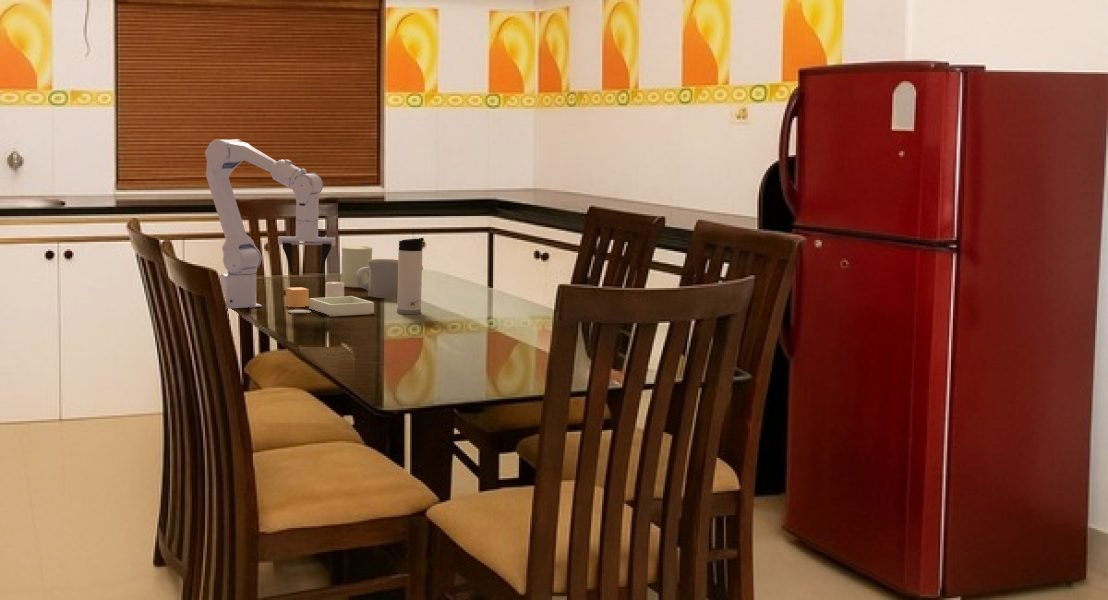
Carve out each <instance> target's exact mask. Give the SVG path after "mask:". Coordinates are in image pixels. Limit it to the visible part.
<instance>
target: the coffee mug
mask: <svg viewBox="0 0 1108 600" xmlns="http://www.w3.org/2000/svg"><path fill="white" fill-rule="evenodd" d="M368 265H369V267H363V268H360V269H359V270H358V272H357V275H356V280H357V283H358V285H359V286H360V287H359V288H362V289H364V290H365V291H367V296H368V297H371V298H376V299H377V298H379V299H396V298H397V297H398V259H391V258H386V259H385V258H382V259H381V258H377V259H375V258H374V259H373V258H372V260H369V261H368ZM364 272H367V274H368V280H367V282H366V283H363V282H362V281H361V276H362V274H363V273H364Z"/></svg>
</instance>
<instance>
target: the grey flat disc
mask: <svg viewBox="0 0 1108 600" xmlns="http://www.w3.org/2000/svg"><path fill="white" fill-rule="evenodd" d="M288 312H289V313H310V312H311V313H312V311H311V310H309V309H291V310H290V309H289V310H287V313H288Z"/></svg>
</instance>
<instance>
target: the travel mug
mask: <svg viewBox="0 0 1108 600" xmlns="http://www.w3.org/2000/svg"><path fill="white" fill-rule="evenodd" d="M424 241H425V238H424V237H420V238H419V237H418V238H409V239H401V240H399V241H398V253H397V254H398V257H397V258H398V259H397V260H398V297H397V301H396V303H397V308H396V312H397V313H398V314H402V315H418V314H421V312H422V284H423V283H422V282H423V281H422V280H423V279H422V277H423V275H422V274H423V242H424Z"/></svg>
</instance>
